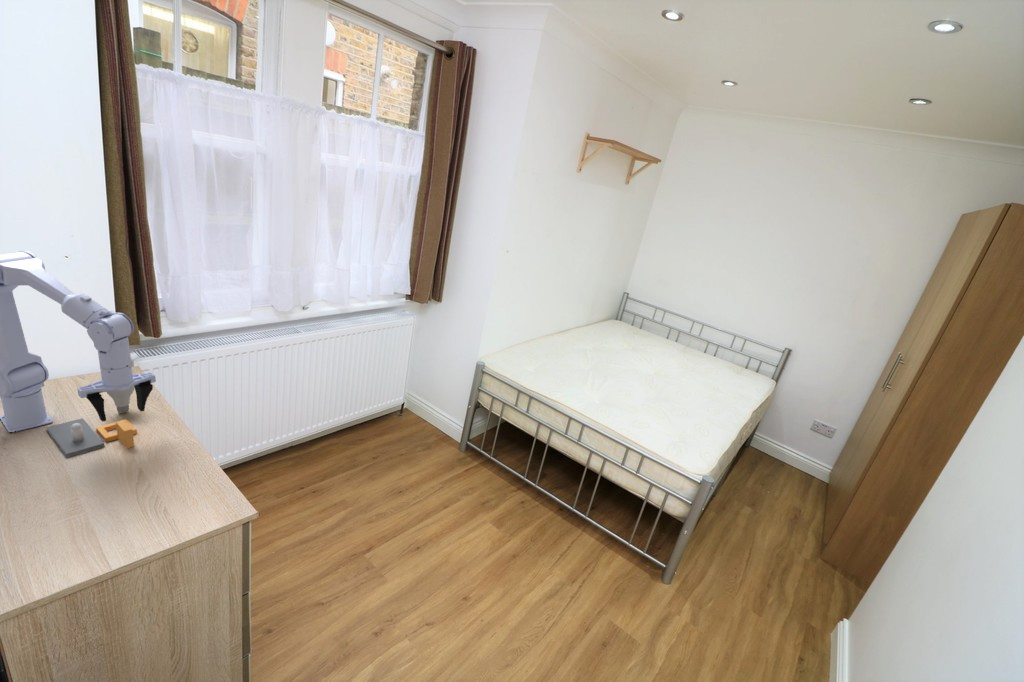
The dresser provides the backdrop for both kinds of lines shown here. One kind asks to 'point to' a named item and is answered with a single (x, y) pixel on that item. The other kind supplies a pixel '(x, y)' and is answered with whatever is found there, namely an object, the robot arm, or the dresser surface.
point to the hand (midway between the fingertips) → (122, 414)
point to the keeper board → (67, 438)
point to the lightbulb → (121, 398)
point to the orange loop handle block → (118, 432)
